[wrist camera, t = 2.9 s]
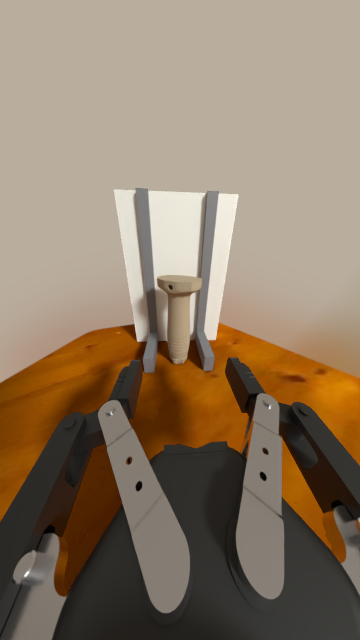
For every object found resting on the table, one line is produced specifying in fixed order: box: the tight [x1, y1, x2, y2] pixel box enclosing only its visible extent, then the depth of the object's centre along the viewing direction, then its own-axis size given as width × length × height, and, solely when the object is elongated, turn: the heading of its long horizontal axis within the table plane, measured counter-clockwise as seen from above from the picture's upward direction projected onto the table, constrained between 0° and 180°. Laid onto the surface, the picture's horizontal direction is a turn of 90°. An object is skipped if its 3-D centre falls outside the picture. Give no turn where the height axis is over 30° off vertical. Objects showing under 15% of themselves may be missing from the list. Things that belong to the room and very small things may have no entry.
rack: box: [114, 188, 238, 373], centre depth 22 cm, size 18×10×26 cm, turn 93°
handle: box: [157, 275, 202, 364], centre depth 23 cm, size 5×6×15 cm
